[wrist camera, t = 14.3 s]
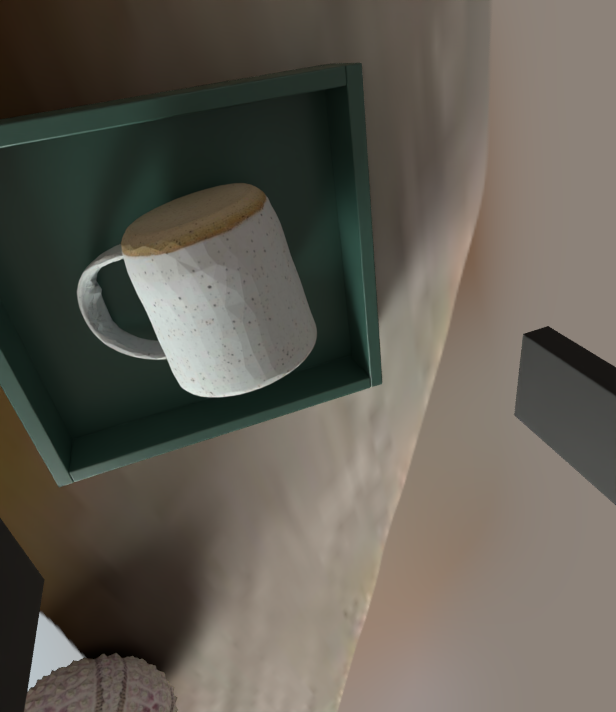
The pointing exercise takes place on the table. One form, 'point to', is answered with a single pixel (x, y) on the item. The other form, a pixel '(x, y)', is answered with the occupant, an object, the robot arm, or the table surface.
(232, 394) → the ceramic mug
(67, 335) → the tray
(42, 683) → the sea urchin shell
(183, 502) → the table surface
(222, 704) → the table surface
